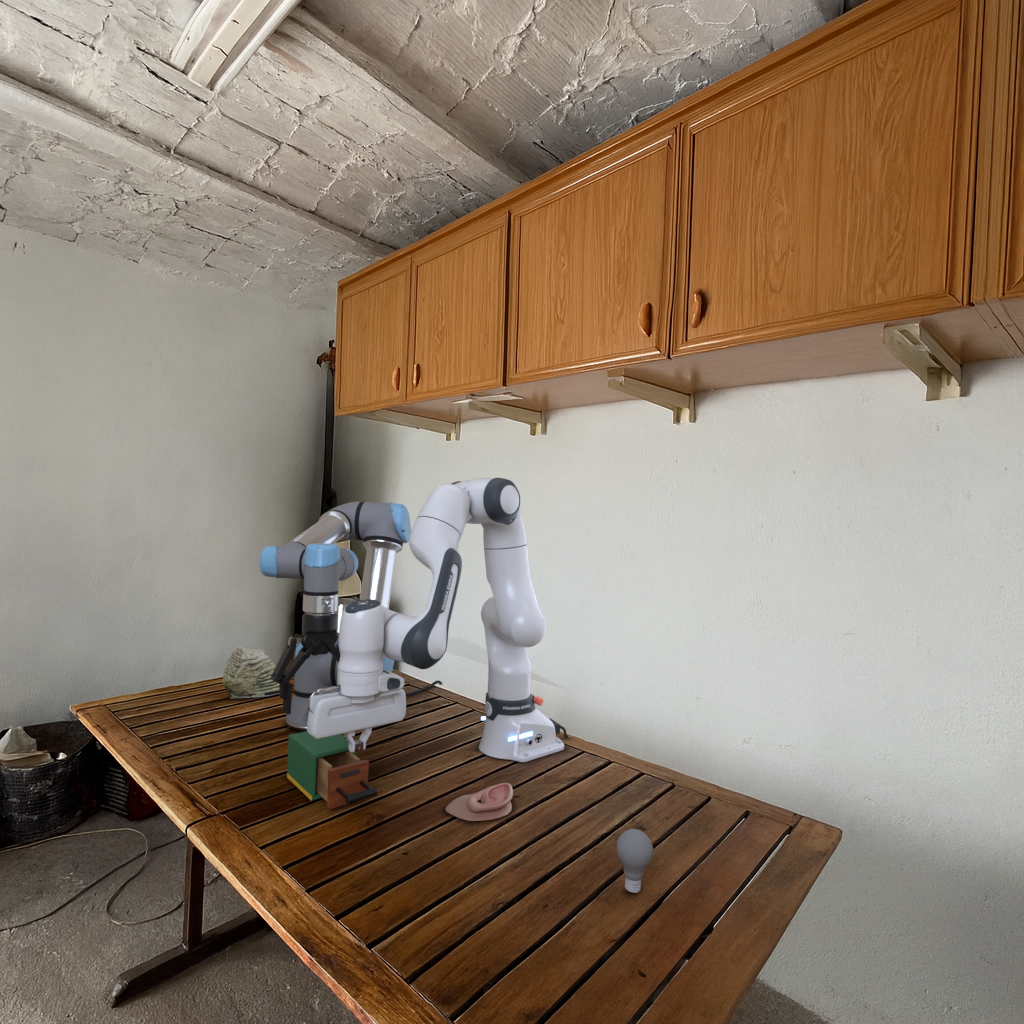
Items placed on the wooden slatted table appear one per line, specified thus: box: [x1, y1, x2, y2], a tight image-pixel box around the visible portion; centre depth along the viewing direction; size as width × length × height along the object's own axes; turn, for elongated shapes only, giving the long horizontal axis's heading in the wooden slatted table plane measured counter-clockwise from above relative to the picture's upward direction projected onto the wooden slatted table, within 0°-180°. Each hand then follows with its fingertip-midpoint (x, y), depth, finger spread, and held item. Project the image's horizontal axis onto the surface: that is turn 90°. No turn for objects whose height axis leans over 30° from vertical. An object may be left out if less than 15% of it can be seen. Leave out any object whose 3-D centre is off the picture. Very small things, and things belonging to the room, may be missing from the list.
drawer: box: [315, 751, 379, 810], centre depth 132 cm, size 18×8×8 cm, turn 41°
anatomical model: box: [444, 782, 514, 822], centre depth 131 cm, size 13×4×12 cm
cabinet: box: [286, 731, 356, 802], centre depth 140 cm, size 14×10×10 cm
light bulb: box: [615, 828, 654, 894], centre depth 106 cm, size 6×6×10 cm
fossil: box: [222, 646, 280, 699], centre depth 198 cm, size 9×18×15 cm, turn 132°
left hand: (316, 707), depth 142 cm, fingers open, 13 cm apart
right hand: (356, 750), depth 127 cm, fingers closed
